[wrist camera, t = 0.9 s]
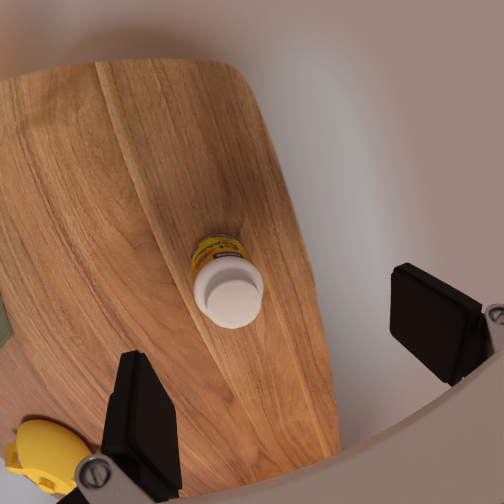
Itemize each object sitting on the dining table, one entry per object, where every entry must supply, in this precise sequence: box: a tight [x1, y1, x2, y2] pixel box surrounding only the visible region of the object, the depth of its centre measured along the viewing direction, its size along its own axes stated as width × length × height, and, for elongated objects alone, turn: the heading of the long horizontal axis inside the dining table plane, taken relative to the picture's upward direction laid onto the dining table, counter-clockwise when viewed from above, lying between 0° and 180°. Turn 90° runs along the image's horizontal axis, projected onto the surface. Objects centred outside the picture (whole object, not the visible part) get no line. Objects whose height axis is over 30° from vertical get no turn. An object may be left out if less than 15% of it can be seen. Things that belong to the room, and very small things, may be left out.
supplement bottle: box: [191, 234, 264, 329], centre depth 25 cm, size 6×6×10 cm
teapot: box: [5, 419, 92, 495], centre depth 29 cm, size 20×18×11 cm
